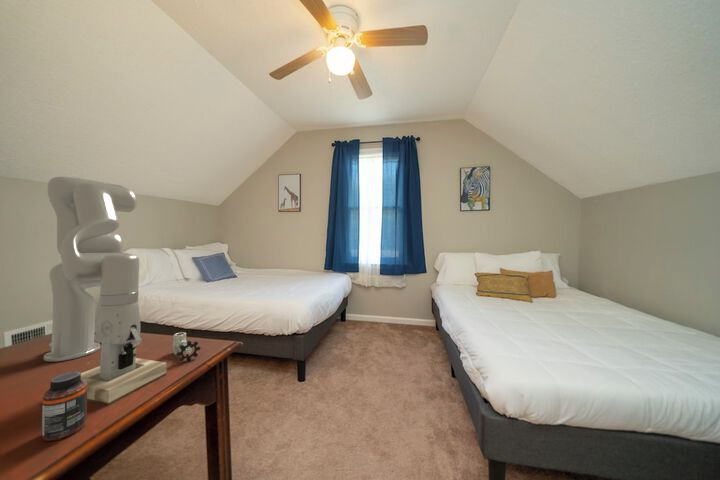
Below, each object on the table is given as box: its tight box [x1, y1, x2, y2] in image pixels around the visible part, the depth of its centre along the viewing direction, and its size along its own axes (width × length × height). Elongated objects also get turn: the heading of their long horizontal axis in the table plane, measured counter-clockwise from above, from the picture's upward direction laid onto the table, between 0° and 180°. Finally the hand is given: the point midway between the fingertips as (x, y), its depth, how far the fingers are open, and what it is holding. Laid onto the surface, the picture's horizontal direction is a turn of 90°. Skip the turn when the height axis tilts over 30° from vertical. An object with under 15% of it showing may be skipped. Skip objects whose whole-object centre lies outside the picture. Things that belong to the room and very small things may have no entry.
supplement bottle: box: [40, 371, 88, 442], centre depth 50 cm, size 6×6×11 cm
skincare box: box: [99, 338, 137, 382], centre depth 67 cm, size 6×4×12 cm
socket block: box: [80, 357, 168, 406], centre depth 67 cm, size 16×14×4 cm
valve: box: [171, 331, 202, 362], centre depth 84 cm, size 7×7×12 cm
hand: (118, 365), depth 67 cm, fingers closed on skincare box, 4 cm apart
